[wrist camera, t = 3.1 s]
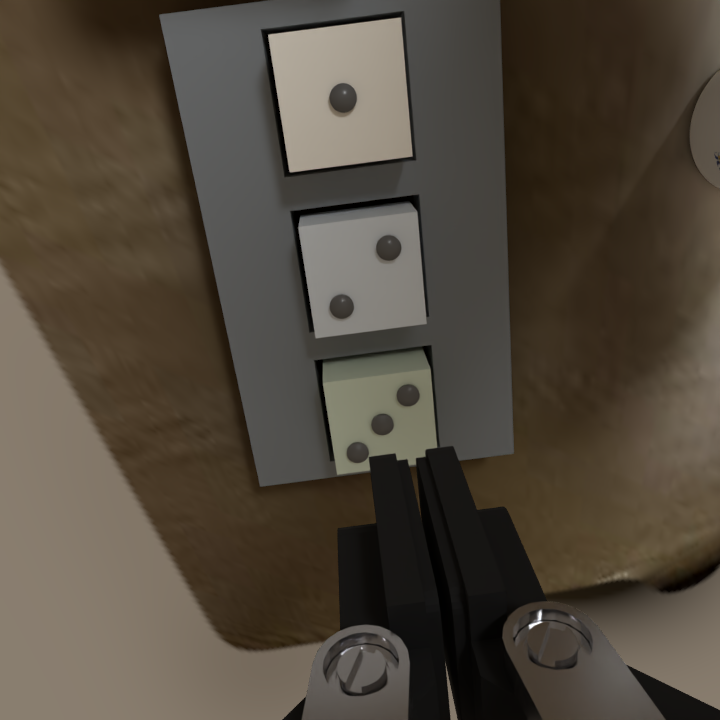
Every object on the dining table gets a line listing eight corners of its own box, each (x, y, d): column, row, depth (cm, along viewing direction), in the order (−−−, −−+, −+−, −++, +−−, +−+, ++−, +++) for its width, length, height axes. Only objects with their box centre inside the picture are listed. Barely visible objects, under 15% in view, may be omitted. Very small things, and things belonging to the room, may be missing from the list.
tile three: (421, 346, 33) (431, 370, 31) (429, 432, 35) (439, 463, 33) (322, 359, 33) (322, 384, 31) (336, 444, 35) (337, 477, 33)
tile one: (393, 25, 28) (401, 16, 25) (404, 150, 30) (413, 156, 27) (273, 40, 28) (267, 34, 25) (292, 165, 30) (289, 173, 27)
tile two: (408, 200, 31) (417, 212, 28) (417, 304, 33) (427, 325, 30) (300, 214, 31) (297, 227, 28) (316, 317, 33) (315, 339, 30)
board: (484, -20, 29) (499, -30, 26) (502, 431, 37) (513, 453, 35) (172, 21, 28) (159, 14, 26) (264, 462, 37) (259, 486, 35)
